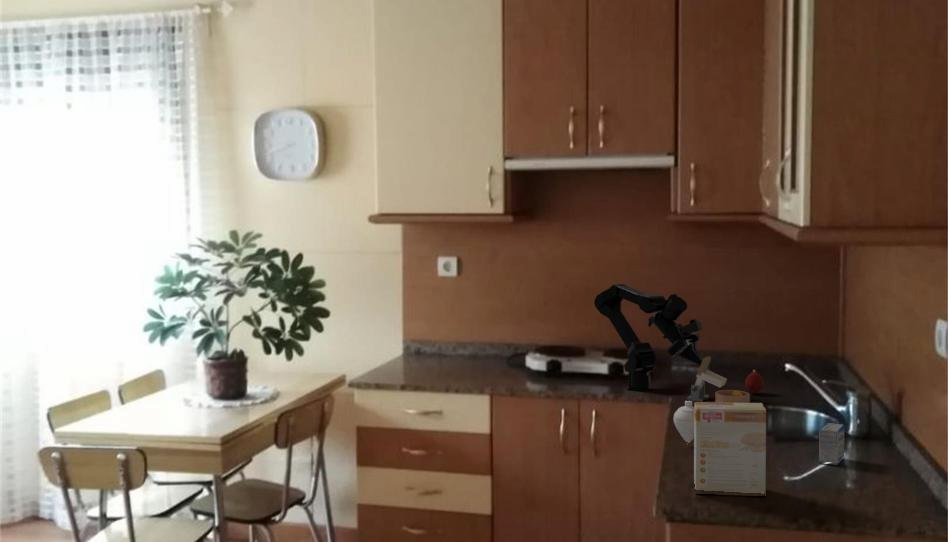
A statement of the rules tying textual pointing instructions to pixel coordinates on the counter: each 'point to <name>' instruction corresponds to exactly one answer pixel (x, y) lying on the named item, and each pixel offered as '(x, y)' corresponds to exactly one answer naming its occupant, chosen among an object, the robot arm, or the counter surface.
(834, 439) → the medicine box
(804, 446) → the counter surface
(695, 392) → the stand
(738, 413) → the coffeecake box
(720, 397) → the pinkish brown round bowl
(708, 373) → the lever chute
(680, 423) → the spinning top
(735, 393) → the ball
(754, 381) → the onion
